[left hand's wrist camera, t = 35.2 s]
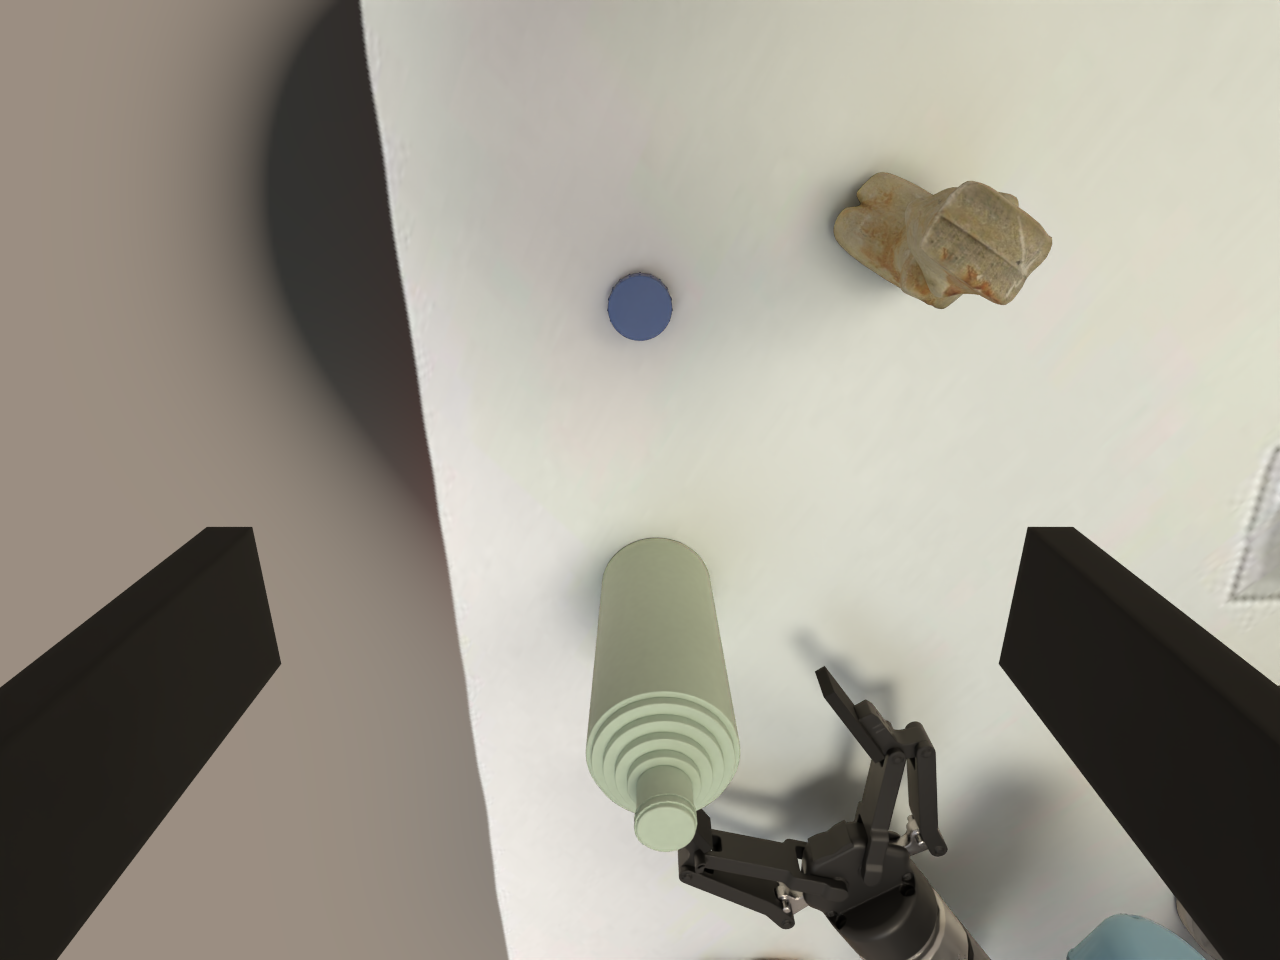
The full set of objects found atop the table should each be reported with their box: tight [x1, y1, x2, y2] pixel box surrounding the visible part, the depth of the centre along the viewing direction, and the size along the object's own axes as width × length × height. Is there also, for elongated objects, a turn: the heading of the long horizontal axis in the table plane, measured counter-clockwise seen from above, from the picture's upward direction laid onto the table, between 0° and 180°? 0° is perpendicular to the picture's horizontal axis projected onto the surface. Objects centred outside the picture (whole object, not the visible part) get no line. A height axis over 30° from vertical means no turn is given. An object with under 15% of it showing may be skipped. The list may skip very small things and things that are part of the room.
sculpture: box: [834, 172, 1052, 309], centre depth 37 cm, size 6×7×15 cm
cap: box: [607, 272, 673, 341], centre depth 45 cm, size 4×4×2 cm
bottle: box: [586, 538, 740, 852], centre depth 43 cm, size 8×8×22 cm
